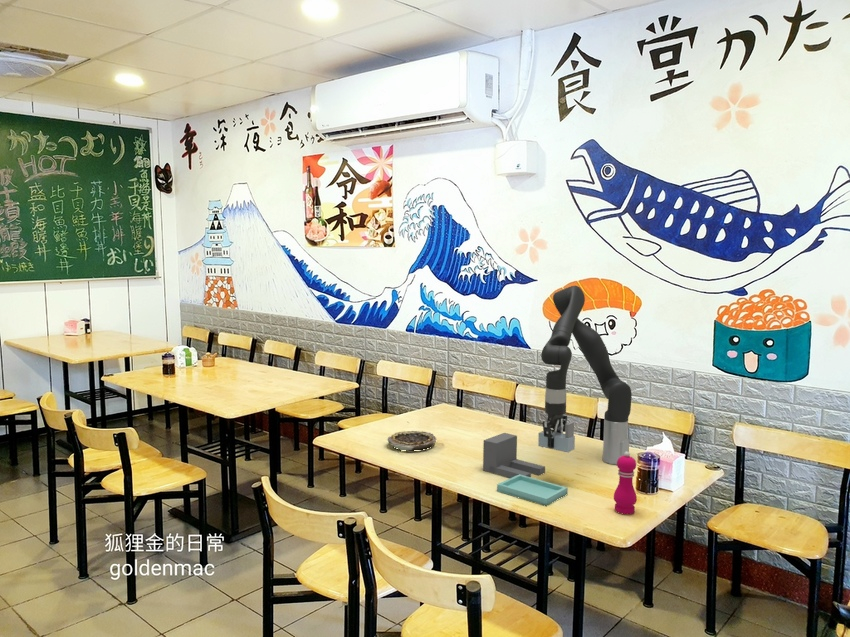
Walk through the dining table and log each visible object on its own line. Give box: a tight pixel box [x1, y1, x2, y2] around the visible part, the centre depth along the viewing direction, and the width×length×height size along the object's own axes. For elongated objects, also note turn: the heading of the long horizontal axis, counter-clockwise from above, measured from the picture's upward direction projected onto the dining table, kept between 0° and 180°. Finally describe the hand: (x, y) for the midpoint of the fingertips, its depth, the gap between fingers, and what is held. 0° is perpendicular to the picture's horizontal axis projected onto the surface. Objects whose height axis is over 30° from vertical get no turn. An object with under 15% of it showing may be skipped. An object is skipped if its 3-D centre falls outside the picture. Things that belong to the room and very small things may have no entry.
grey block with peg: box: [537, 421, 576, 454], centre depth 238 cm, size 12×5×10 cm, turn 49°
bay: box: [482, 432, 546, 479], centre depth 251 cm, size 19×14×12 cm
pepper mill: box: [613, 451, 638, 515], centre depth 214 cm, size 7×7×20 cm
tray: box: [496, 474, 569, 507], centre depth 230 cm, size 20×14×2 cm
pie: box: [387, 430, 438, 451], centre depth 284 cm, size 28×27×5 cm
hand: (554, 445), depth 239 cm, fingers closed on grey block with peg, 5 cm apart
